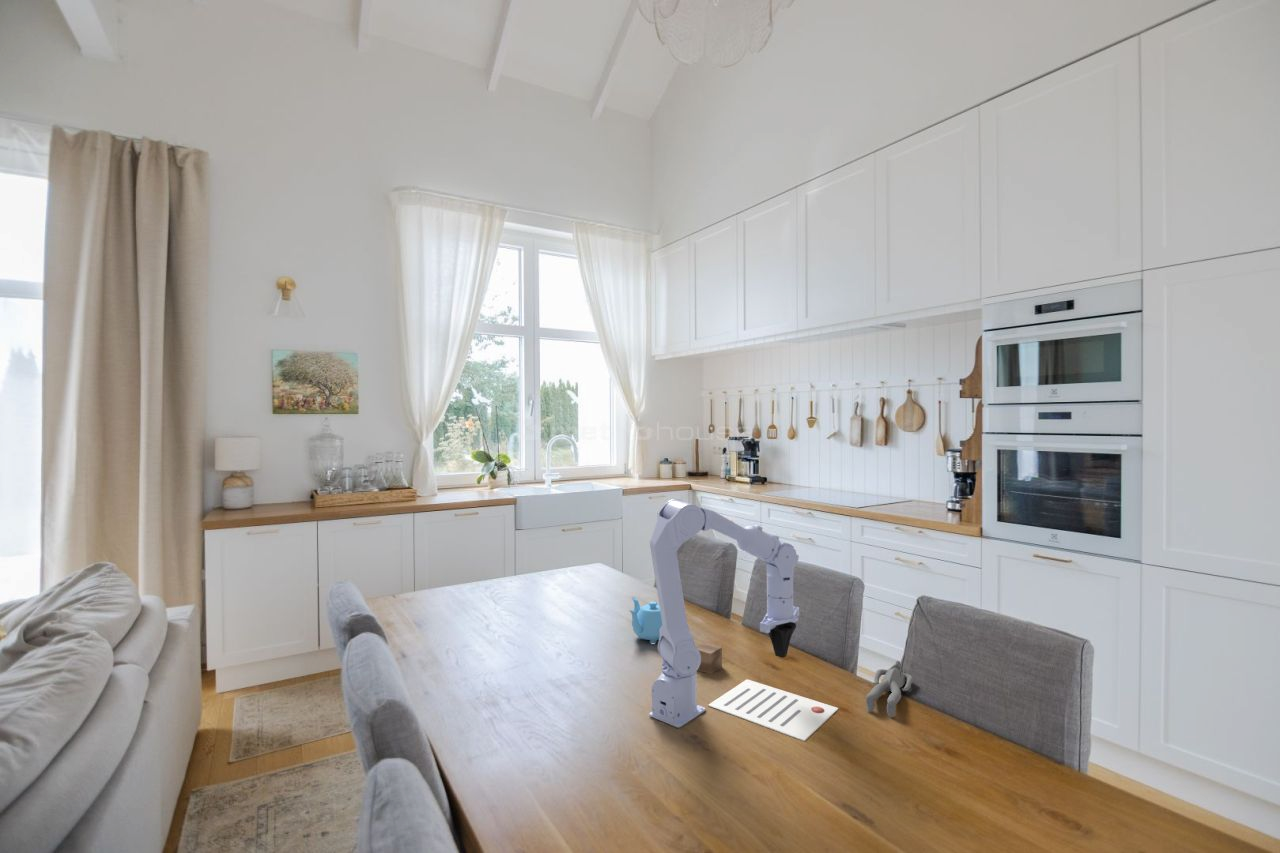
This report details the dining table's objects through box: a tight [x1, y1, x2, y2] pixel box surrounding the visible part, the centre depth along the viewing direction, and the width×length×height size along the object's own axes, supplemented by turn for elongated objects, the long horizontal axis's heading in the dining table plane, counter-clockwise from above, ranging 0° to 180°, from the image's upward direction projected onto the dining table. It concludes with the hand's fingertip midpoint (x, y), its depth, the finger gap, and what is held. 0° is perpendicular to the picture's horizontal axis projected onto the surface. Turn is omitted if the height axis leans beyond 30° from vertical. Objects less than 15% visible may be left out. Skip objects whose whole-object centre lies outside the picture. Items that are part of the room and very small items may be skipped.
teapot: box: [628, 596, 662, 644], centre depth 166 cm, size 13×13×10 cm
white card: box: [707, 679, 839, 742], centre depth 125 cm, size 16×22×1 cm
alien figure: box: [865, 660, 915, 718], centre depth 132 cm, size 8×5×25 cm
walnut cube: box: [696, 642, 723, 675], centre depth 146 cm, size 5×5×5 cm
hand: (780, 655), depth 132 cm, fingers closed
